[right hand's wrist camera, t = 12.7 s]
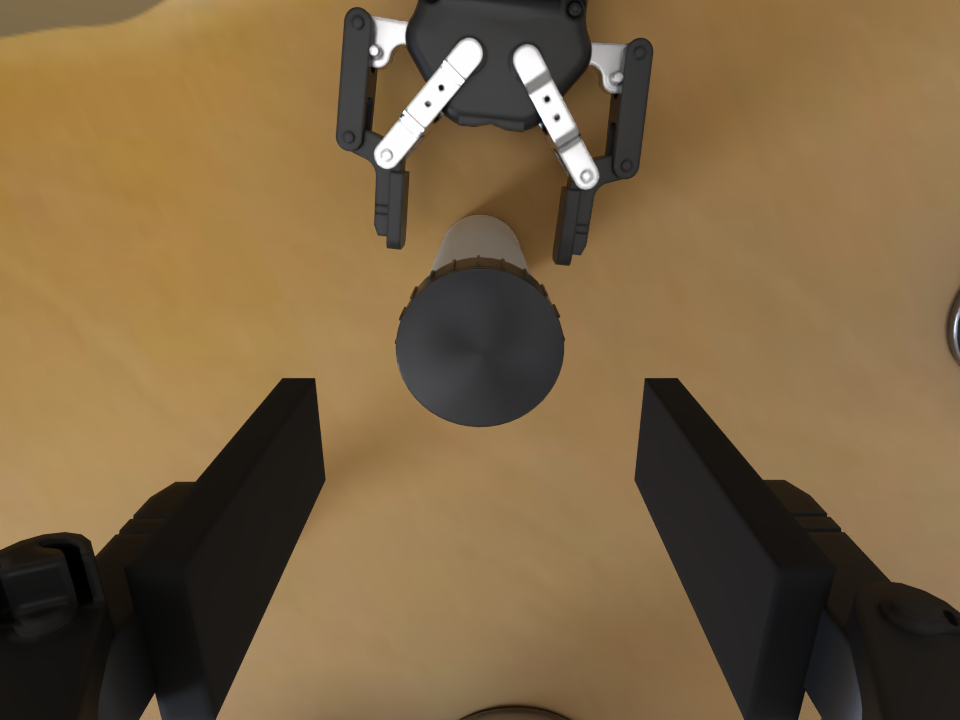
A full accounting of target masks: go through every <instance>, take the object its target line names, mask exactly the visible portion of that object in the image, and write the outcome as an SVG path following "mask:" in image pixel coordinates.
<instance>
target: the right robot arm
mask: <svg viewBox="0 0 960 720" xmlns="http://www.w3.org/2000/svg"><path fill="white" fill-rule="evenodd" d="M324 482H325V470H324V460H323V451H322V441H321V431H320V422H319V412H318V402H317V393H316V383H315V378H282V379H281V381H280V382H279V383H278V384H277V385H276V387H275V388H274V389H273V390H272V391H271V393H270V394H269V395H268V396H267V397H266V399H265V400H264V401H263V402H262V403H261V405H260V406H259V407H258V408H257V409H256V410H255V412H254V413H253V414H252V415H251V416H250V418H249V419H248V420H247V421H246V422H245V424H244V425H243V426H242V427H241V428H240V430H239V431H238V432H237V433H236V434H235V435H234V437H233V438H232V439H231V440H230V441H229V443H228V444H227V445H226V446H225V447H224V449H223V450H222V451H221V452H220V453H219V455H218V456H217V457H216V458H215V459H214V460H213V462H212V463H211V464H210V465H209V466H208V468H207V469H206V470H205V471H204V472H203V474H202V475H201V476H200V477H199V478H198V480H197V481H196V482H175V483H173V484H172V485H170V486H168V487H167V488H165V489H163V490H162V491H160V492H158V493H157V494H155V495H153V496H152V497H150V498H149V499H148V500H147V502H146V503H145V504H144V505H143V506H142V507H141V508H140V509H139V510H138V511H137V512H136V513H135V514H134V517H133V519H130V520H129V521H128V522H127V523H126V524H125V525H124V526H123V527H122V528H121V529H120V532H119V535H115V536H114V537H113V538H112V539H111V540H110V541H109V542H108V543H107V545H106V546H105V547H104V548H103V549H102V550H101V551H100V552H99V553H98V554H97V555H96V556H95V555H94V552H93V548H92V544H91V541H90V540H88V539H87V538H86V537H84V536H83V535H81V534H75V533H68V532H62V533H52V534H44V535H40V536H37V537H33V538H29V539H26V540H22V541H19V542H17V543H15V544H13V545H11V546H8V547H6V548H4V549H2V550H0V720H139V719H140V717H141V715H142V714H143V712H144V710H145V709H146V707H147V705H148V703H149V702H150V700H151V698H152V697H153V695H154V693H155V694H156V698H157V702H158V706H159V710H160V714H161V718H162V720H216V718H217V715H218V713H219V711H220V709H221V707H222V705H223V702H224V700H225V698H226V696H227V694H228V691H229V689H230V687H231V685H232V683H233V681H234V678H235V676H236V674H237V672H238V670H239V667H240V665H241V663H242V661H243V659H244V657H245V654H246V652H247V650H248V648H249V646H250V643H251V641H252V639H253V637H254V635H255V633H256V630H257V628H258V626H259V624H260V622H261V619H262V617H263V615H264V613H265V611H266V609H267V606H268V604H269V602H270V600H271V598H272V595H273V593H274V591H275V589H276V587H277V585H278V582H279V580H280V578H281V576H282V574H283V571H284V569H285V567H286V565H287V563H288V561H289V558H290V556H291V554H292V552H293V550H294V548H295V545H296V543H297V541H298V539H299V537H300V534H301V532H302V530H303V528H304V526H305V524H306V521H307V519H308V517H309V515H310V513H311V510H312V508H313V506H314V504H315V502H316V500H317V497H318V495H319V493H320V491H321V489H322V486H323V484H324ZM635 482H636V484H637V486H638V489H639V491H640V493H641V495H642V497H643V500H644V502H645V504H646V506H647V508H648V510H649V513H650V515H651V517H652V519H653V521H654V524H655V526H656V528H657V530H658V532H659V534H660V537H661V539H662V541H663V543H664V545H665V548H666V550H667V552H668V554H669V556H670V558H671V561H672V563H673V565H674V567H675V569H676V572H677V574H678V576H679V578H680V580H681V582H682V585H683V587H684V589H685V591H686V593H687V595H688V598H689V600H690V602H691V604H692V606H693V609H694V611H695V613H696V615H697V617H698V619H699V622H700V624H701V626H702V628H703V630H704V633H705V635H706V637H707V639H708V641H709V643H710V646H711V648H712V650H713V652H714V654H715V657H716V659H717V661H718V663H719V665H720V667H721V670H722V672H723V674H724V676H725V678H726V681H727V683H728V685H729V687H730V689H731V691H732V694H733V696H734V698H735V700H736V702H737V705H738V707H739V709H740V711H741V713H742V715H743V718H744V720H798V718H799V714H800V710H801V706H802V702H803V698H804V694H805V690H806V692H807V694H808V695H809V697H810V699H811V700H812V702H813V704H814V705H815V707H816V709H817V710H818V712H819V714H820V715H821V717H822V718H821V720H960V612H958V611H957V610H956V609H954V608H953V607H952V606H951V605H949V604H948V603H947V602H945V601H943V600H941V599H939V598H937V597H935V596H933V595H932V594H930V593H928V592H926V591H924V590H921V589H918V588H914V587H911V586H908V585H905V584H902V583H895V582H891V581H890V580H889V579H888V578H887V577H886V576H885V575H884V574H883V573H882V572H881V571H880V569H879V568H878V567H877V566H876V565H875V564H874V563H873V562H872V561H871V560H870V559H869V558H868V557H867V556H866V555H865V553H864V552H863V551H862V550H861V549H860V548H859V547H858V546H857V545H856V544H855V543H854V542H853V541H852V540H851V539H850V537H849V536H848V535H847V534H846V533H845V532H841V528H840V527H839V526H838V525H837V524H836V523H835V521H834V520H833V519H832V518H831V517H827V513H826V512H825V511H824V510H823V509H822V508H821V507H820V505H819V504H818V503H817V502H816V501H815V500H814V499H813V498H812V497H811V496H810V495H809V494H807V493H805V492H804V491H802V490H800V489H799V488H797V487H795V486H794V485H792V484H790V483H789V482H787V481H785V480H762V478H761V477H760V476H759V475H758V474H757V472H756V471H755V470H754V469H753V468H752V466H751V465H750V464H749V463H748V462H747V460H746V459H745V458H744V457H743V456H742V455H741V453H740V452H739V451H738V450H737V449H736V447H735V446H734V445H733V444H732V443H731V441H730V440H729V439H728V438H727V437H726V435H725V434H724V433H723V432H722V431H721V430H720V428H719V427H718V426H717V425H716V424H715V422H714V421H713V420H712V419H711V418H710V416H709V415H708V414H707V413H706V412H705V410H704V409H703V408H702V407H701V406H700V405H699V403H698V402H697V401H696V400H695V399H694V397H693V396H692V395H691V394H690V393H689V391H688V390H687V389H686V388H685V387H684V385H683V384H682V383H681V382H680V381H679V379H678V378H645V383H644V392H643V402H642V412H641V422H640V431H639V441H638V451H637V460H636V470H635ZM462 720H567V719H565V718H563V717H561V716H559V715H556V714H553V713H550V712H546V711H543V710H537V709H531V708H519V707H511V708H498V709H492V710H487V711H484V712H480V713H477V714H474V715H471V716H469V717H467V718H464V719H462Z"/></svg>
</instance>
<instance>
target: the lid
mask: <svg viewBox="0 0 960 720" xmlns="http://www.w3.org/2000/svg"><path fill="white" fill-rule="evenodd" d="M410 298H411V299H410V301H409V303H408V305H407V307H404V309H403V311H402V313H401V315H400V318H399V320H400V321H401V322H400V325H399V328H398V332H397V338H396V340H395V344H396V356H397V362H398V367H399V370H400V373H401V376H402V378H403V380H404V382H405V384H406V386H407V388H408V389H409V391H410V392H411V393H412V395H413V396H414V397H415V398H416V399H417V400H418V401H419V402H420V404H421V405H423V406H424V407H425V408H426V409H428V410H429V411H430V412H432V413H434V414H435V415H437V416H438V417H440V418H443V419H445V420H447V421H450V422H453V423H456V424H460V425H465V426H472V427H489V426H495V425H501V424H504V423H508V422H510V421H513V420H515V419H518V418H520V417H521V416H523V415H525V414H527V413H528V412H530V411H531V410H532V409H534V408H535V407H536V406H537V405H538V404H539V403H540V402H541V401H543V400H544V398H545V397H546V396H547V395H548V393H549V392H550V391H551V389H552V387H553V386H554V384H555V383H556V380H557V378H558V376H559V373H560V370H561V367H562V363H563V356H564V341H565V338H564V335H563V332H562V328H561V325H560V321H559V319H558V318H559V317H560V315H559V313H558V311H557V308H556V306H555V304H553V305H552V303H551V301H550V299H549V297H548V294H547V291H546V289H545V287H544V285H543V284H541V285H540V284H539V283H538V282H537V281H536V280H535V279H534V278H533V277H532V276H531V275H530V274H528V272H527V269H525V268H524V269H521V268H519V267H517V266H515V265H513V264H511V263H508V262H506V261H505V259H503V258H501V260H499V259H494V258H486V257H480V255H477V257H474V258H466V259H461V260H457V261H456V259H454V260H452V262H451V263H449V264H447V265H445V266H443V267H441V268H439V269H438V270H436V271H434V270H432V271H431V273H430V275H429V276H428V277H427V278H426V279H425V280H424V281H423V282H422V283H421V284H420V285H419V286H418V287H417V286H416V287H415V288H414V290H413V292H412V294H411V296H410Z"/></svg>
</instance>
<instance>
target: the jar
mask: <svg viewBox="0 0 960 720" xmlns="http://www.w3.org/2000/svg"><path fill="white" fill-rule="evenodd" d="M477 255H480V257H486V258H494V259H499V260H501V258H503V259H505V261H506V262H508V263H511V264H513V265H515V266H517V267H519V268H521V269H524V268H525V269H527V272H528V274H530V275H531V273H530V271H529V268H528V266H527V263H526V260H525V258H524V255H523V253H522V250H521V248H520V245H519V242H518V240H517V238H516V236H515V234H514V232H513V231H512V230H511V228H510V227H509V226H508V225H507V224H505V223H504V222H503V221H501V220H499V219H497V218H495V217H493V216H489V215H481V214H480V215H471V216H468V217H465V218H463V219H461V220H459V221H457V222H456V223H455V224H453V225H452V226H451V227H450V229H449V230H448V231H447V232H446V234H445V236H444V238H443V240H442V242H441V245H440V248H439V250H438V253H437V255H436V258H435V261H434V263H433V266H432V268H431V271H432V270H434V271H436V270H438V269H439V268H441V267H443V266H445V265H447V264H449V263H451V262H452V260H454V259H456V261H457V260H461V259H466V258H474V257H477ZM431 271H430V273H431ZM430 273H429V275H430Z"/></svg>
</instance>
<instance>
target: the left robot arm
mask: <svg viewBox="0 0 960 720" xmlns="http://www.w3.org/2000/svg"><path fill="white" fill-rule="evenodd" d="M587 3H588V0H418V3H417V6H416V9H415V11H414V14H413V15H412V17H411V19H410V20H409V22H404V21H399V20H393V19H388V18H382V17H377V16H372V15H370V14H369V13H368V12H367V11H366V10H364V9H363V8H360V7H355V8H352V9H350V10H349V11H348V12H347V13H346V15H345V19H344V32H343V46H342V60H341V74H340V87H339V101H338V115H337V129H336V140H337V143H338V145H339V146H340V147H341V148H342V149H344V150H346V151H351V152H353V153H355V154H357V155H359V156H361V157H363V158H365V159H367V160H369V161H370V162H371V163H372V165H373V166H374V168H375V171H376V193H375V220H374V225H375V228H376V231H377V234H378V235H379V236H387V248H391V249H402V248H403V246H404V245H405V240H406V225H407V207H408V189H409V171H405V161H406V159H407V158H408V157H409V156H410V154H411V153H412V152H413V151H414V150H415V148H416V147H417V146H418V145H419V144H420V142H421V141H422V140H423V139H424V138H425V137H426V136H427V135H428V134H429V133H430V132H431V130H432V129H433V128H434V127H435V126H436V125H437V123H438V122H439V121H440V120H441V119H442V117H443V116H444V115H446V116H447V117H448V118H449V119H450V120H452V121H453V122H455V123H457V124H458V125H461V126H471V127H477V126H483V125H488V124H492V125H494V126H497V127H499V128H502V129H504V130H508V131H518V132H523V131H525V130H528V129H531V128H533V127H535V126H537V125H538V126H539V128H540V130H541V132H542V134H543V136H544V137H545V139H546V141H547V143H548V145H549V146H550V148H551V149H552V151H553V152H554V154H555V156H556V158H557V160H558V162H559V163H560V165H561V167H562V169H563V171H564V173H565V174H566V176H567V178H568V181H567V187H562V190H561V197H560V205H559V212H558V219H557V226H556V233H555V240H554V247H553V261H554V262H555V264H557V265H567V266H569V265H570V263H571V258H572V254H575V255H581V254H582V252H583V250H584V248H585V247H586V243H587V237H588V231H589V225H590V218H591V212H592V206H593V200H594V195H595V193H596V191H597V190H598V188H599V187H600V186H602V185H604V184H606V183H609V182H613V181H617V180H621V179H629V178H632V177H633V176H634V175H635V174H636V173H637V171H638V169H639V163H640V155H641V147H642V139H643V131H644V123H645V115H646V106H647V98H648V90H649V82H650V74H651V66H652V58H653V47H652V45H651V43H650V42H649V41H648V40H647V39H645V38H637V39H635V40H633V41H631V42H630V43H628V44H617V43H593V42H591V41H590V38H589V35H588V32H587V27H586V10H587ZM403 47H407V49H408V52H409V53H410V55H411V57H412V59H413V61H414V62H415V64H416V66H417V68H418V70H419V71H420V73H421V75H422V77H423V79H424V80H425V82H426V84H425V86H424V87H423V88H422V89H421V91H420V92H419V93H418V94H417V96H416V97H415V98H414V99H413V100H412V102H411V103H410V104H409V105H408V107H407V108H406V109H405V110H404V112H403V113H402V115H401V117H400V118H399V120H398V121H397V122H396V124H395V125H394V126H393V127H392V128H391V130H390V131H389V132H388V133H387V135H386V136H385V137H383V136H381V135H379V134H377V133H375V132H373V131H372V125H373V114H374V103H375V92H376V81H377V70H383V69H386V68H388V67H389V66H390V65H391V63H392V60H393V56H394V54H395V52H396V51H397V50H398V49H400V48H403ZM588 67H590V68H592V69H594V70H595V71H596V73H597V75H598V78H599V86H600V89H601V90H602V91H603V92H604V93H606V94H609V95H611V101H610V111H609V121H608V130H607V140H606V149H605V155H603V156H599V157H596V158H592V157H591V155H590V154H589V152H588V150H587V148H586V146H585V144H584V142H583V140H582V138H581V135H580V132H579V129H578V127H577V125H576V123H575V121H574V120H573V118H572V116H571V114H570V112H569V110H568V108H567V106H566V104H565V102H564V100H563V96H564V95H565V94H566V93H567V92H568V91H569V89H570V88H571V87H572V86H573V85H574V84H575V82H576V81H577V80H578V79H579V78H580V77H581V75H582V74H583V73H584V72H585V71H586V69H587V68H588ZM948 341H949V346H950V349H951V352H952V354H953V356H954V358H955V360H956V361H957V363H958V364H959V365H960V292H959V294H958V296H957V298H956V300H955V302H954V305H953V307H952V310H951V313H950V317H949V323H948Z"/></svg>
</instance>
